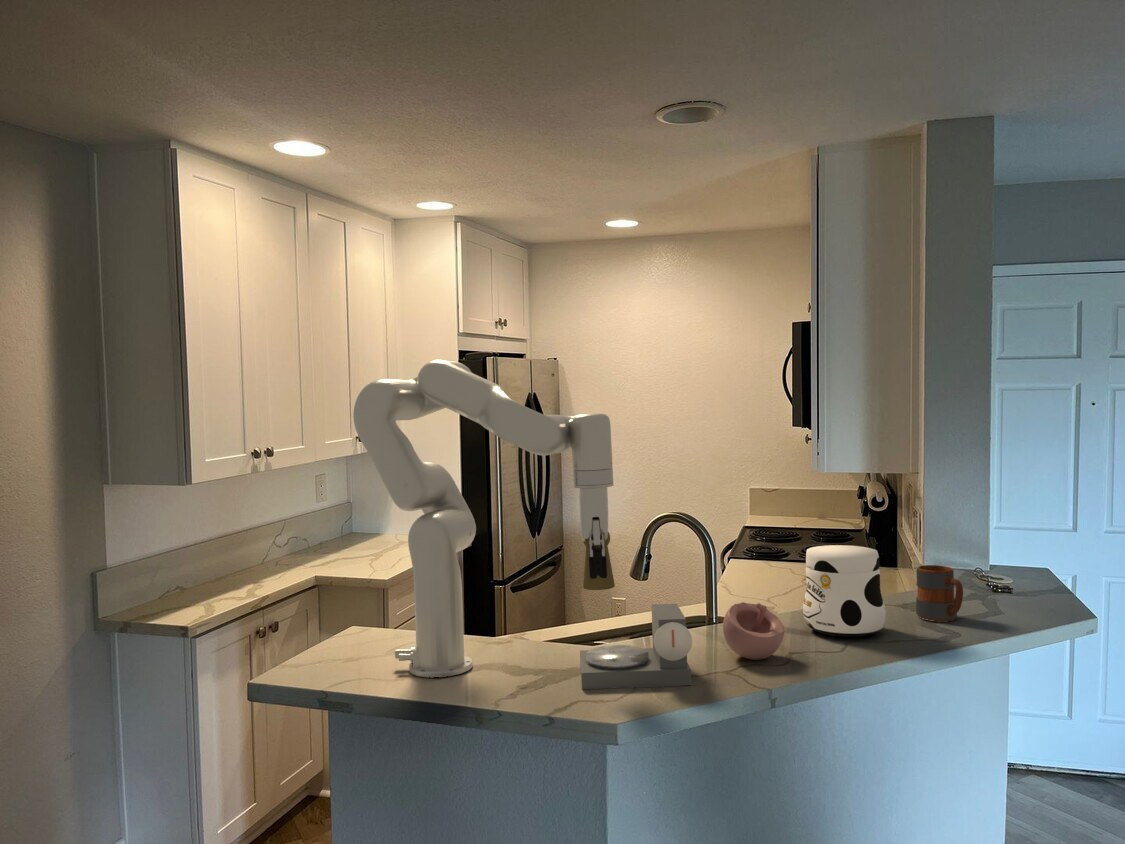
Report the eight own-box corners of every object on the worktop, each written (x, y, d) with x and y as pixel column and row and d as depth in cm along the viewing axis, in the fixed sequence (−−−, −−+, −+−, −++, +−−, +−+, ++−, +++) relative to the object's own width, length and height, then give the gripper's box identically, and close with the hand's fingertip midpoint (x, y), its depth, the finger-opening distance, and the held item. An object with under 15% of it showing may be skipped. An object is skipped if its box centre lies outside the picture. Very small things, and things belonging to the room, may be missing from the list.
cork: (587, 591, 150) (584, 532, 150) (579, 585, 156) (576, 528, 156) (619, 588, 152) (616, 529, 152) (609, 582, 158) (606, 525, 158)
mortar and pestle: (755, 671, 155) (753, 611, 155) (711, 657, 165) (709, 601, 165) (797, 659, 162) (796, 602, 162) (753, 646, 172) (751, 592, 172)
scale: (581, 689, 148) (579, 623, 148) (580, 665, 162) (578, 605, 162) (694, 685, 148) (692, 620, 148) (682, 662, 162) (680, 602, 162)
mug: (948, 628, 180) (946, 575, 180) (907, 616, 192) (906, 566, 191) (977, 623, 183) (976, 571, 183) (936, 612, 194) (935, 563, 194)
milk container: (787, 631, 182) (785, 551, 182) (833, 617, 193) (831, 541, 192) (856, 647, 168) (854, 561, 168) (901, 631, 179) (899, 550, 179)
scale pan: (586, 670, 149) (586, 664, 149) (584, 651, 161) (584, 646, 161) (651, 667, 149) (651, 662, 149) (645, 649, 161) (645, 644, 161)
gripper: (573, 476, 162) (578, 568, 162) (573, 483, 146) (578, 585, 146) (611, 474, 162) (616, 566, 162) (615, 481, 145) (620, 583, 145)
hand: (598, 574), depth 154 cm, fingers closed on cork, 4 cm apart
